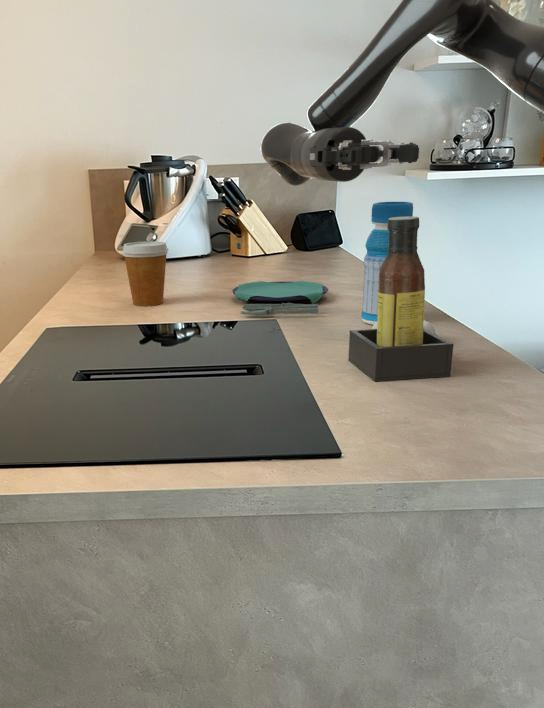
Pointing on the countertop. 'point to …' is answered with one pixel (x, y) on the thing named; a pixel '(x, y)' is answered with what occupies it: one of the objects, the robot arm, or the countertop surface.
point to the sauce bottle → (401, 287)
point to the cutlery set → (280, 296)
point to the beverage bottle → (378, 253)
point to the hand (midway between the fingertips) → (387, 154)
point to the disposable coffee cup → (146, 271)
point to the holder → (400, 357)
